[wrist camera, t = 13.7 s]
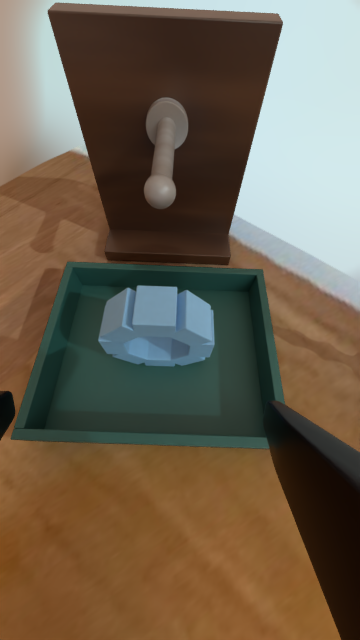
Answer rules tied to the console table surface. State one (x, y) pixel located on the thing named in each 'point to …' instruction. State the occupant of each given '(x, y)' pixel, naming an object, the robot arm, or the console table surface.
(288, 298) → the console table surface
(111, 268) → the tray
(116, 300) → the blue segmented ring
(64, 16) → the hook rack
